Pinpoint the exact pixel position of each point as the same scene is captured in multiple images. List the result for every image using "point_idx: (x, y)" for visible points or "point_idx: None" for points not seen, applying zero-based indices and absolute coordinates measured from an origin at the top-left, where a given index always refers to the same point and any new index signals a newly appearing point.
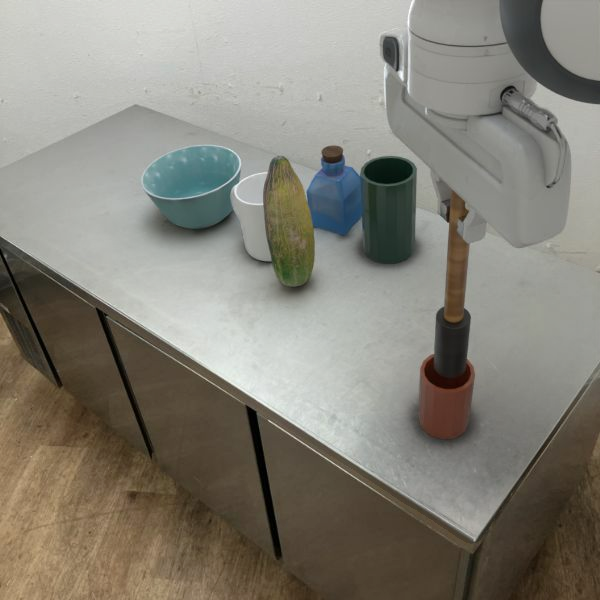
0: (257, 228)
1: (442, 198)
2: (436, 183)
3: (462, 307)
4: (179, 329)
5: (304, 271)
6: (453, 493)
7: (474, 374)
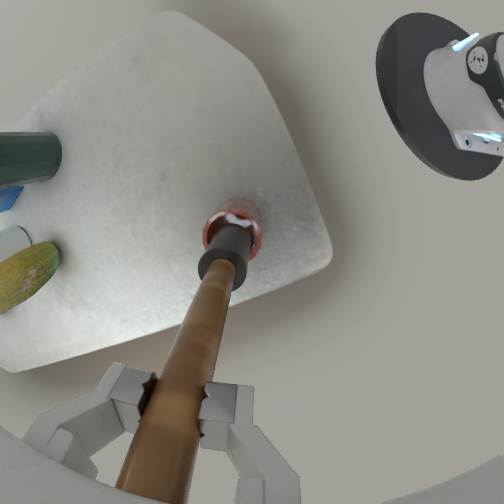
0: None
1: (119, 433)
2: (91, 455)
3: (232, 278)
4: (80, 343)
5: (51, 259)
6: (303, 255)
7: (250, 216)
